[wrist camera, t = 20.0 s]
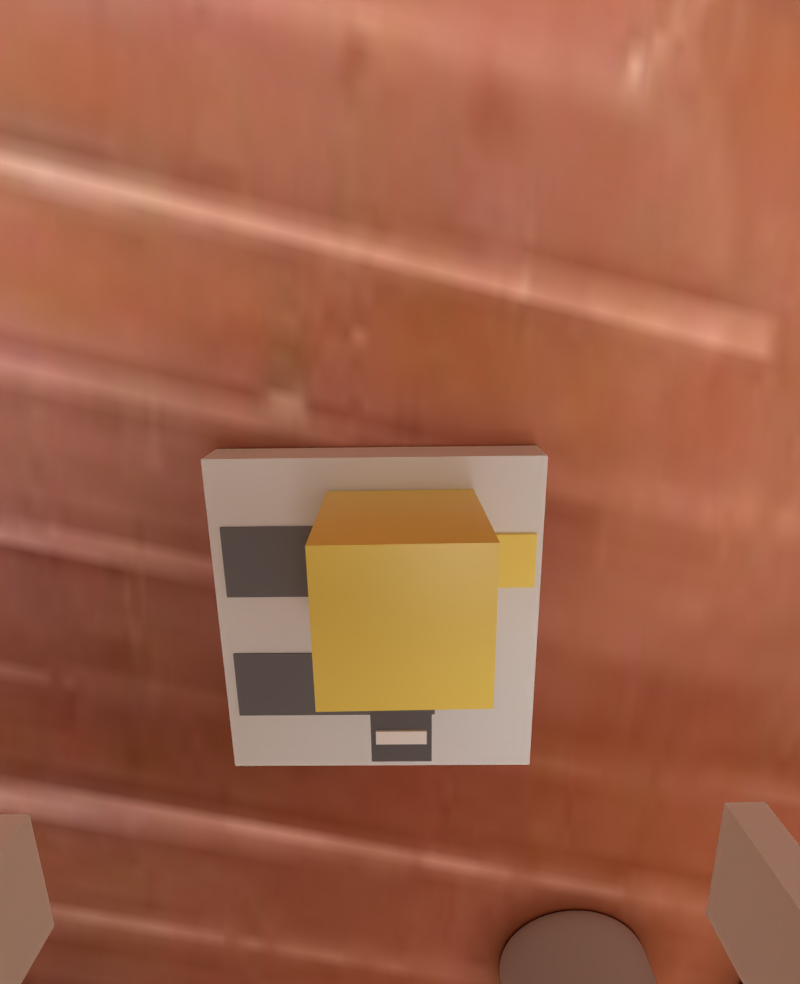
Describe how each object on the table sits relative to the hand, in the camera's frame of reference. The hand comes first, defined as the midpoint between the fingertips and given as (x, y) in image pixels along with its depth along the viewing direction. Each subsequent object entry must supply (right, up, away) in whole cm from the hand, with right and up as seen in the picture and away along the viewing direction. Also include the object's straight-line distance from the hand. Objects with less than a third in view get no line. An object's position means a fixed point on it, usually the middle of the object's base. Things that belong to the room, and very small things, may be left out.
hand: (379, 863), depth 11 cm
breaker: (+1, -2, +15) cm, 15 cm away
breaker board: (-1, +2, +16) cm, 16 cm away
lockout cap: (0, +4, +13) cm, 14 cm away
